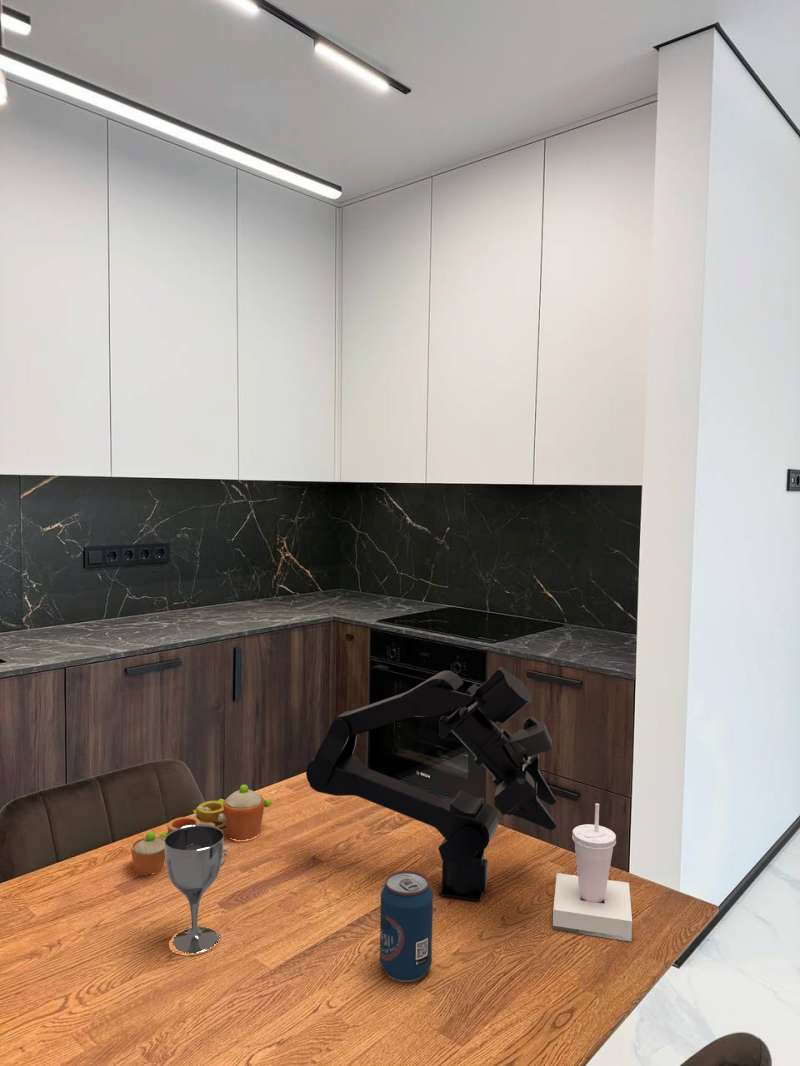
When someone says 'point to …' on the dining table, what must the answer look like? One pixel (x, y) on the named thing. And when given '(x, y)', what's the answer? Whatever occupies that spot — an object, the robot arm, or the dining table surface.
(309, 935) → the dining table surface
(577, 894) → the flat gift box
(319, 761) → the robot arm
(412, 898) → the soda can
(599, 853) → the smoothie
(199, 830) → the wine glass
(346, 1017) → the dining table surface
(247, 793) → the toy tea set
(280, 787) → the dining table surface
